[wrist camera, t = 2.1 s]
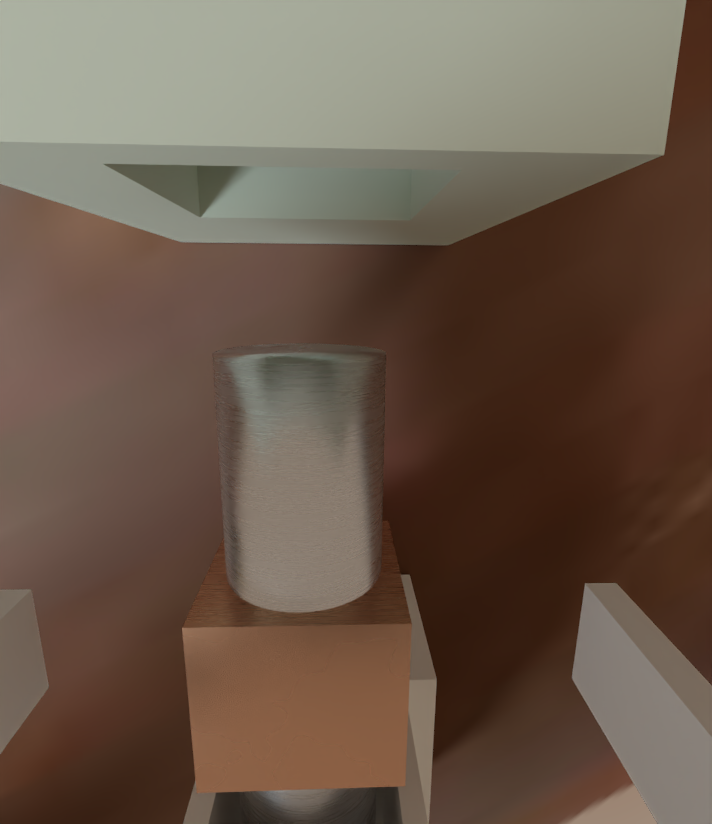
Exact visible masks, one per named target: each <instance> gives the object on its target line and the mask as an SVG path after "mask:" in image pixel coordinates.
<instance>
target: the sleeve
mask: <svg viewBox="0 0 712 824" xmlns="http://www.w3.org/2000/svg"><path fill="white" fill-rule="evenodd" d="M401 579H402V583H403V587H404V592H405V596H406V600H407V605H408V609H409V614H410V618H411V622H412V631H411V656H410V681H409V706H408V731H407V756H406V781H405V786H398V787H376V824H429V811H430V793H431V775H432V757H433V739H434V721H435V703H436V685H437V678H436V674H435V670H434V667H433V663H432V659H431V655H430V651H429V647H428V644H427V640H426V636H425V632H424V628H423V624H422V620H421V617H420V613H419V609H418V605H417V601H416V597H415V594H414V590H413V586H412V582H411V578H410V575H401ZM183 824H242V820H241V804H240V792H215V793H197V791H196V780H195V784H194V787H193V791H192V794H191V797H190V801H189V804H188V808H187V811H186V815H185V818H184V822H183Z"/></svg>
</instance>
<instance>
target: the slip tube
mask: <svg viewBox="0 0 712 824" xmlns="http://www.w3.org/2000/svg"><path fill="white" fill-rule="evenodd" d="M213 370H214V386H215V402H216V418H217V434H218V450H219V466H220V482H221V498H222V514H223V530H224V538H223V540H222V542H221V544H220V546H219V549H218V551H217V553H216V555H215V557H214V560H213V562H212V564H211V566H210V568H209V570H208V573H207V575H206V577H205V579H204V581H203V584H202V586H201V588H200V590H199V592H198V594H197V597H196V599H195V601H194V603H193V605H192V607H191V610H190V612H189V614H188V616H187V618H186V621H185V623H184V625H183V627H182V633H183V644H184V656H185V667H186V678H187V689H188V701H189V712H190V723H191V734H192V746H193V757H194V768H195V779H196V791H197V793H215V792H240V804H241V820H242V824H376V787H398V786H405V781H406V756H407V731H408V706H409V681H410V656H411V631H412V622H411V618H410V614H409V609H408V605H407V600H406V596H405V592H404V587H403V583H402V579H401V574H400V570H399V565H398V561H397V557H396V552H395V548H394V543H393V539H392V535H391V530H390V526H389V522H388V521H382V517H383V472H384V427H385V382H386V352H385V351H383V350H380V349H376V348H370V347H363V346H354V345H341V344H310V343H296V344H266V345H251V346H241V347H233V348H227V349H222V350H219V351H216V352H214V353H213Z"/></svg>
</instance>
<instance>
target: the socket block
mask: <svg viewBox="0 0 712 824" xmlns="http://www.w3.org/2000/svg"><path fill="white" fill-rule="evenodd" d="M685 6H686V0H0V184H3V185H6V186H9V187H12V188H15V189H18V190H21V191H25V192H28V193H31V194H34V195H37V196H40V197H43V198H46V199H49V200H52V201H55V202H59V203H62V204H65V205H68V206H71V207H74V208H77V209H80V210H83V211H86V212H89V213H93V214H96V215H99V216H102V217H105V218H108V219H111V220H114V221H117V222H120V223H124V224H127V225H130V226H133V227H136V228H139V229H142V230H145V231H148V232H151V233H154V234H158V235H161V236H164V237H167V238H170V239H173V240H176V241H179V242H205V243H290V244H375V245H450V244H453V243H455V242H457V241H460V240H462V239H464V238H467V237H469V236H472V235H474V234H476V233H479V232H481V231H484V230H486V229H488V228H491V227H493V226H495V225H498V224H500V223H503V222H505V221H507V220H510V219H512V218H515V217H517V216H519V215H522V214H524V213H526V212H529V211H531V210H534V209H536V208H538V207H541V206H543V205H546V204H548V203H550V202H553V201H555V200H557V199H560V198H562V197H565V196H567V195H569V194H572V193H574V192H577V191H579V190H581V189H584V188H586V187H588V186H591V185H593V184H596V183H598V182H600V181H603V180H605V179H608V178H610V177H612V176H615V175H617V174H619V173H622V172H624V171H627V170H629V169H631V168H634V167H636V166H639V165H641V164H643V163H646V162H648V161H650V160H653V159H655V158H658V157H660V156H662V155H664V152H665V145H666V138H667V131H668V124H669V117H670V111H671V104H672V97H673V90H674V83H675V76H676V69H677V62H678V55H679V48H680V41H681V34H682V27H683V20H684V13H685Z"/></svg>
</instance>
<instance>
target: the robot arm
mask: <svg viewBox="0 0 712 824" xmlns="http://www.w3.org/2000/svg"><path fill="white" fill-rule="evenodd" d="M572 680H573V681H574V683H575V685H576V686H577V688H578V690H579V692H580V693H581V695H582V697H583V698H584V700H585V702H586V703H587V705H588V707H589V709H590V710H591V712H592V714H593V715H594V717H595V719H596V720H597V722H598V724H599V725H600V727H601V729H602V731H603V732H604V734H605V736H606V737H607V739H608V741H609V742H610V744H611V746H612V748H613V749H614V751H615V753H616V754H617V756H618V758H619V759H620V761H621V763H622V764H623V766H624V768H625V770H626V771H627V773H628V775H629V776H630V778H631V780H632V781H633V783H634V785H635V787H636V788H637V790H638V791H639V793H640V795H641V796H642V798H643V800H644V802H645V803H646V805H647V807H648V809H649V810H650V812H651V814H652V815H653V817H654V819H655V820H656V822H657V824H712V685H711V684H710V683H709V682H708V681H707V680H706V679H705V678H704V677H703V676H702V675H701V674H700V673H699V672H698V670H697V669H696V668H695V667H694V666H693V665H692V664H691V663H690V662H689V661H688V660H687V659H686V658H685V656H684V655H683V654H682V653H681V652H680V651H679V650H678V649H677V648H676V647H675V646H674V645H673V644H672V642H671V641H670V640H669V639H668V638H667V637H666V636H665V635H664V634H663V633H662V632H661V631H660V630H659V628H658V627H657V626H656V625H655V624H654V623H653V622H652V621H651V620H650V619H649V618H648V617H647V616H646V614H645V613H644V612H643V611H642V610H641V609H640V608H639V607H638V606H637V605H636V604H635V603H634V602H633V601H632V599H631V598H630V597H629V596H628V595H627V594H626V593H625V592H624V591H623V590H622V589H621V588H620V587H619V585H618V584H617V583H585V588H584V595H583V602H582V609H581V616H580V623H579V630H578V637H577V645H576V652H575V659H574V666H573V673H572ZM48 688H49V684H48V679H47V673H46V668H45V662H44V656H43V651H42V645H41V640H40V634H39V628H38V623H37V617H36V612H35V606H34V600H33V595H32V589H22V590H0V754H1V752H2V751H3V750H4V748H5V747H6V746H7V744H8V743H9V741H10V740H11V739H12V737H13V736H14V735H15V733H16V732H17V731H18V729H19V728H20V726H21V725H22V724H23V722H24V721H25V720H26V718H27V717H28V715H29V714H30V713H31V711H32V710H33V709H34V707H35V706H36V704H37V703H38V702H39V700H40V699H41V698H42V696H43V695H44V693H45V692H46V691H47V689H48Z"/></svg>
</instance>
